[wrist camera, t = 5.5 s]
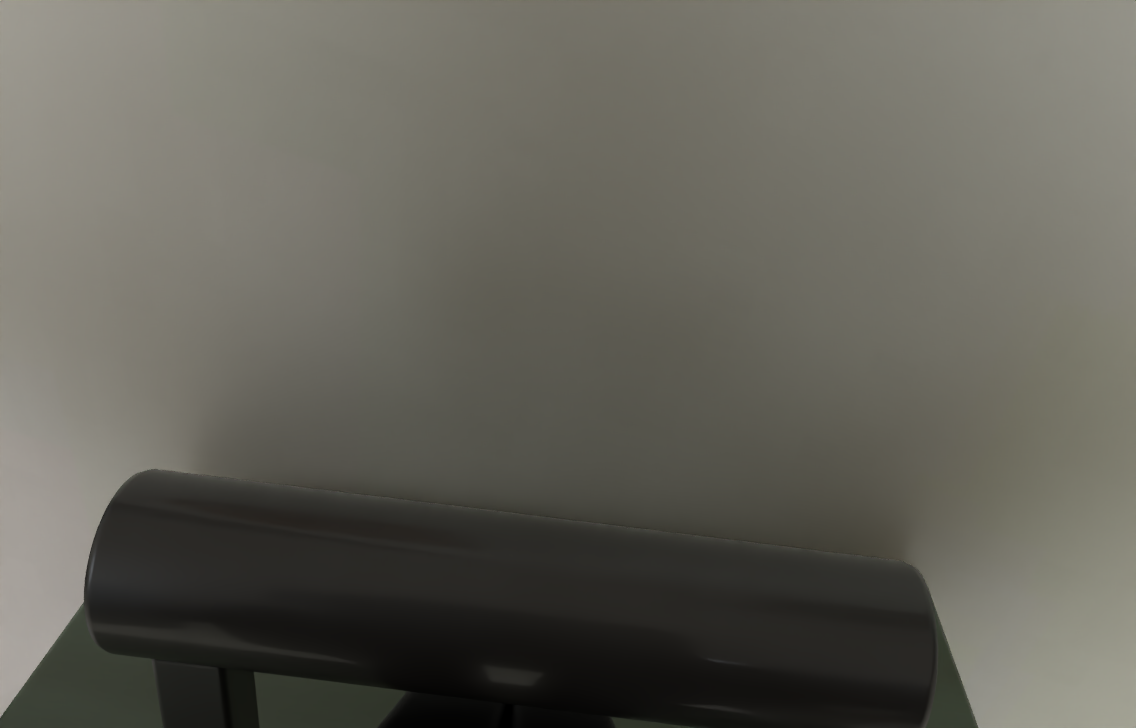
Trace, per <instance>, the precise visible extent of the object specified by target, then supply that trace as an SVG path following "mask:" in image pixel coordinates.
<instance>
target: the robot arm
mask: <svg viewBox="0 0 1136 728" xmlns="http://www.w3.org/2000/svg"><path fill="white" fill-rule="evenodd" d="M377 728H616V727H615V725H614V722H613V719H612V717H607V716H600V715H592V714H584V713H576V712H568V711H560V710H552V709H544V708H536V707H528V706H520V705H512V704H505V703H497V702H489V701H481V700H473V699H465V698H457V697H449V696H441V695H433V694H425V693H417V692H409V691H407V692H406V693H405V694H404V695H403V697H402V698H401V699H400V700H399V701H398V703H397V704H396V705H395V706H394V707H393V709H392V710H391V711H390V712H389V713H388V715H387V716H386V717H385V718H384V720H383V721H382V722H381V723H380V724H379V726H378V727H377Z"/></svg>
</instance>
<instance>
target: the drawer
mask: <svg viewBox="0 0 1136 728" xmlns="http://www.w3.org/2000/svg"><path fill="white" fill-rule="evenodd" d="M407 691H409V692H417V693H425V694H433V695H441V696H449V697H457V698H465V699H473V700H481V701H489V702H497V703H505V704H512V705H520V706H528V707H536V708H544V709H552V710H560V711H568V712H576V713H584V714H592V715H600V716H607V717H612V719H613V722H614V725H615V727H616V728H978V725H977V723H976V720H975V717H974V714H973V711H972V709H971V706H970V703H969V700H968V698H967V695H966V692H965V689H964V687H963V684H962V681H961V678H960V675H959V673H958V670H957V667H956V664H955V662H954V659H953V656H952V653H951V650H950V648H949V645H948V642H947V639H946V637H945V634H944V631H943V628H942V625H941V623H940V620H939V617H938V614H937V612H936V609H935V606H934V603H933V600H932V598H931V595H930V592H929V589H928V587H927V584H926V582H925V580H924V578H923V576H922V575H921V573H920V572H919V571H918V570H917V569H916V568H915V567H913V566H912V565H910V564H908V563H906V562H904V561H901V560H892V559H884V558H876V557H868V556H860V555H852V554H844V553H835V552H827V551H819V550H811V549H803V548H795V547H786V546H778V545H770V544H762V543H754V542H746V541H738V540H729V539H721V538H713V537H705V536H697V535H689V534H680V533H672V532H664V531H656V530H648V529H640V528H632V527H623V526H615V525H607V524H599V523H591V522H583V521H574V520H566V519H558V518H550V517H542V516H534V515H526V514H517V513H509V512H501V511H493V510H485V509H477V508H468V507H460V506H452V505H444V504H436V503H428V502H420V501H411V500H403V499H395V498H387V497H379V496H371V495H362V494H354V493H346V492H338V491H330V490H322V489H314V488H305V487H297V486H289V485H281V484H273V483H265V482H256V481H248V480H240V479H232V478H224V477H216V476H208V475H199V474H191V473H183V472H175V471H167V470H159V469H151V470H147V471H143V472H140V473H137V474H135V475H134V476H132V477H130V478H129V479H128V480H127V481H126V482H125V483H124V484H123V485H122V486H121V487H120V488H119V490H118V491H117V492H116V494H115V495H114V497H113V498H112V500H111V501H110V503H109V505H108V506H107V508H106V510H105V512H104V515H103V517H102V519H101V521H100V524H99V526H98V528H97V531H96V534H95V537H94V540H93V544H92V547H91V551H90V555H89V560H88V564H87V570H86V577H85V587H84V603H83V604H82V605H81V607H80V608H79V610H78V611H77V612H76V614H75V615H74V617H73V618H72V619H71V621H70V622H69V623H68V625H67V626H66V628H65V629H64V630H63V632H62V633H61V635H60V636H59V637H58V639H57V640H56V641H55V643H54V644H53V646H52V647H51V648H50V650H49V651H48V653H47V654H46V655H45V657H44V658H43V659H42V661H41V662H40V664H39V665H38V666H37V668H36V669H35V671H34V672H33V673H32V675H31V676H30V677H29V679H28V680H27V682H26V683H25V684H24V686H23V687H22V689H21V690H20V691H19V693H18V694H17V695H16V697H15V698H14V700H13V701H12V702H11V704H10V705H9V707H8V708H7V709H6V711H5V712H4V713H3V715H2V716H1V718H0V728H377V727H378V726H379V724H380V723H381V722H382V721H383V720H384V718H385V717H386V716H387V715H388V713H389V712H390V711H391V710H392V709H393V707H394V706H395V705H396V704H397V703H398V701H399V700H400V699H401V698H402V697H403V695H404V694H405V693H406V692H407Z"/></svg>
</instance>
